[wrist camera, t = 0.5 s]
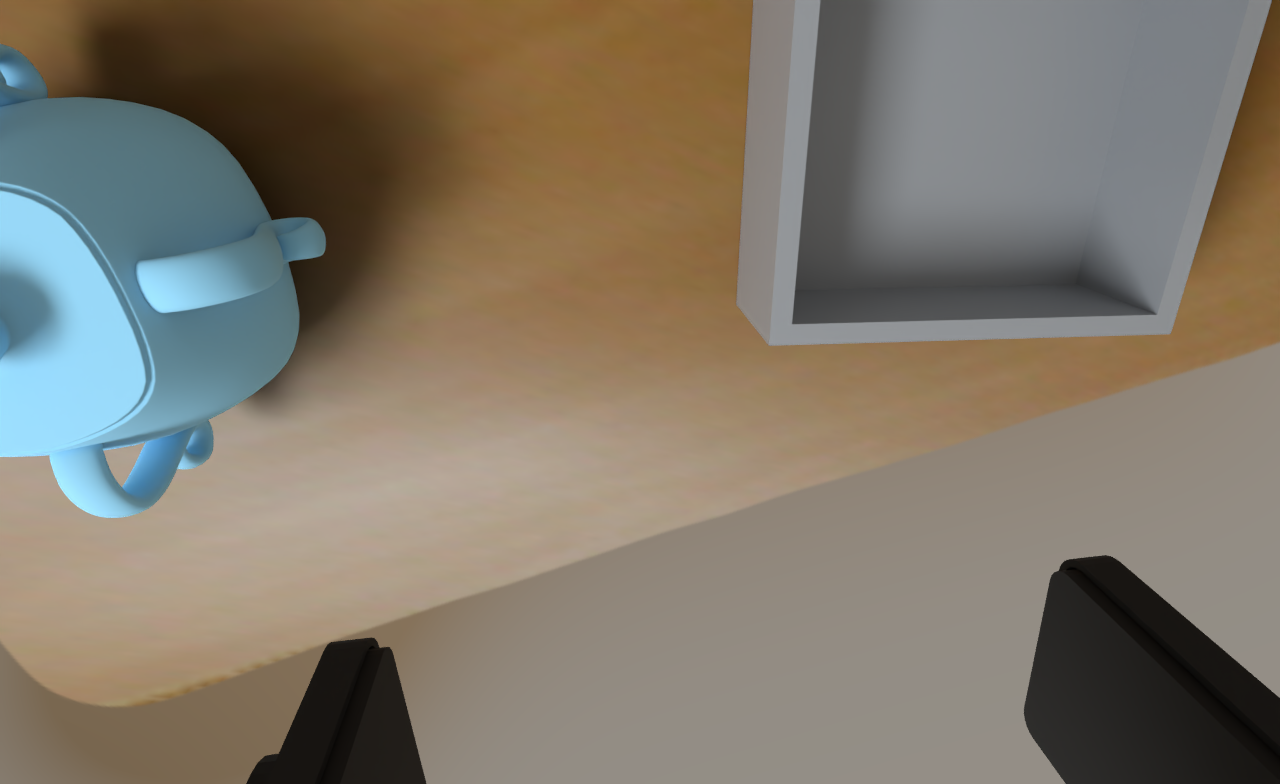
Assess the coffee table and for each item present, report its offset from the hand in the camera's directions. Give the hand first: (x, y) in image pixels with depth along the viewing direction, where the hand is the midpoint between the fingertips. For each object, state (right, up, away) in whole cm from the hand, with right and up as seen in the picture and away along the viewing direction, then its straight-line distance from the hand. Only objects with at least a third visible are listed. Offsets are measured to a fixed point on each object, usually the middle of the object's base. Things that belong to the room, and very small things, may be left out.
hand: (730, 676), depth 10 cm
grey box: (+14, +18, +26) cm, 35 cm away
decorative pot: (-26, +11, +26) cm, 38 cm away
